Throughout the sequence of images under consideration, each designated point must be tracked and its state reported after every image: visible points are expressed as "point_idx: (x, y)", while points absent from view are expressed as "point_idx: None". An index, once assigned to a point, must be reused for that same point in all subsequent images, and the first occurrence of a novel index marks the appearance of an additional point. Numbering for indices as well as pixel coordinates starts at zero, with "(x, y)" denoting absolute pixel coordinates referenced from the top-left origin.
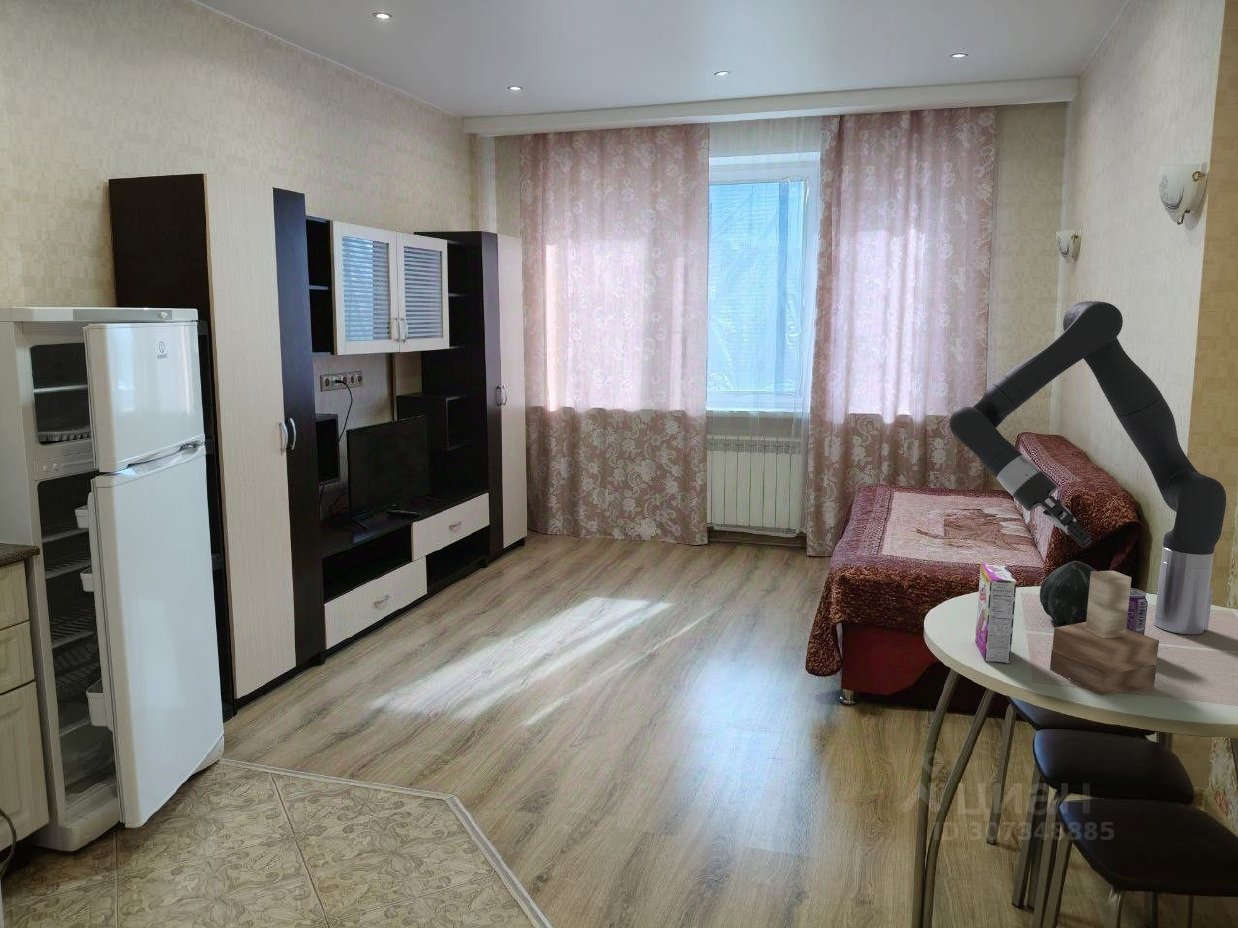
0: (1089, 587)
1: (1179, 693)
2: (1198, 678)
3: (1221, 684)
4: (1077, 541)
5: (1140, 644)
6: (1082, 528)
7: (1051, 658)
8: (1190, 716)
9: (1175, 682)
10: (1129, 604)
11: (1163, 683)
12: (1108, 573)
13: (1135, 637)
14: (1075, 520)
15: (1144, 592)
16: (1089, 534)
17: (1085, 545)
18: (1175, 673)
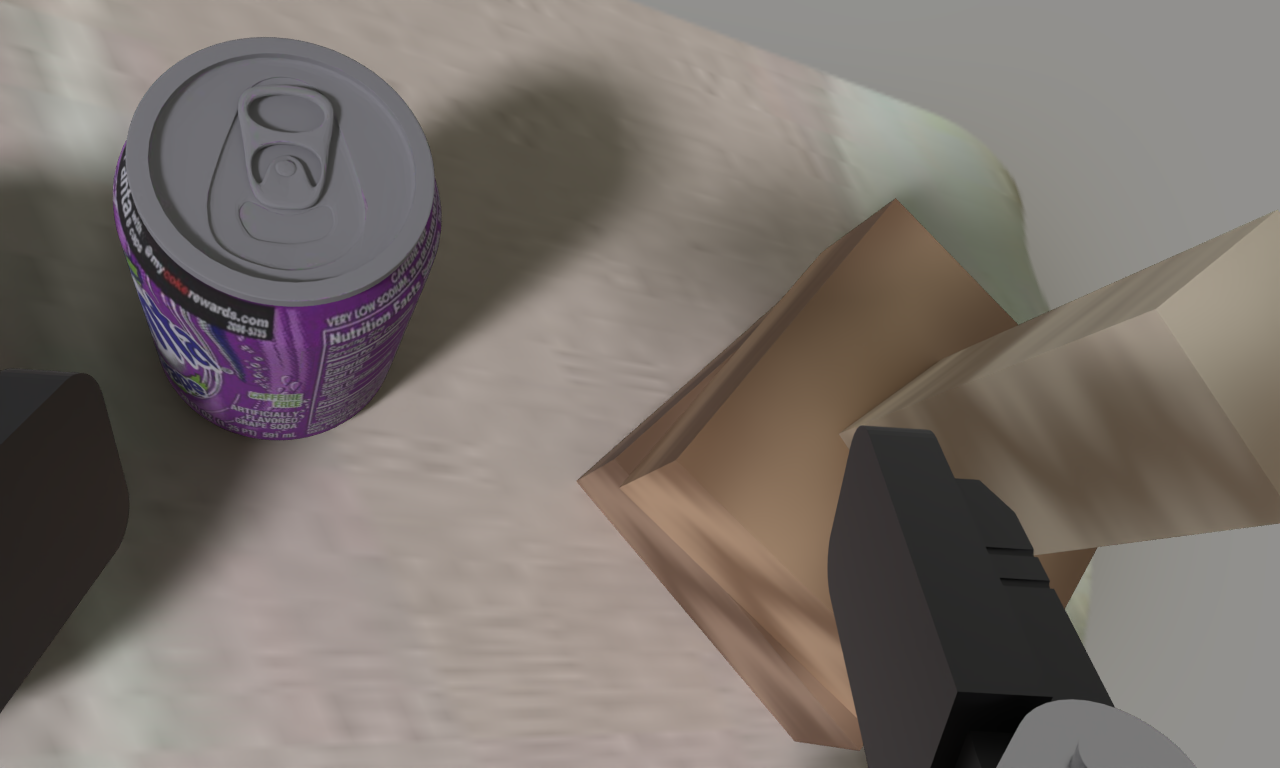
0: (1159, 538)
1: (802, 212)
2: (585, 83)
3: (617, 17)
4: (50, 617)
5: (997, 305)
6: (980, 562)
7: (829, 743)
8: (995, 235)
9: (683, 192)
10: (440, 216)
11: (720, 245)
12: (1266, 371)
13: (912, 307)
14: (1145, 742)
15: (269, 43)
16: (932, 441)
17: (117, 479)
18: (565, 160)
